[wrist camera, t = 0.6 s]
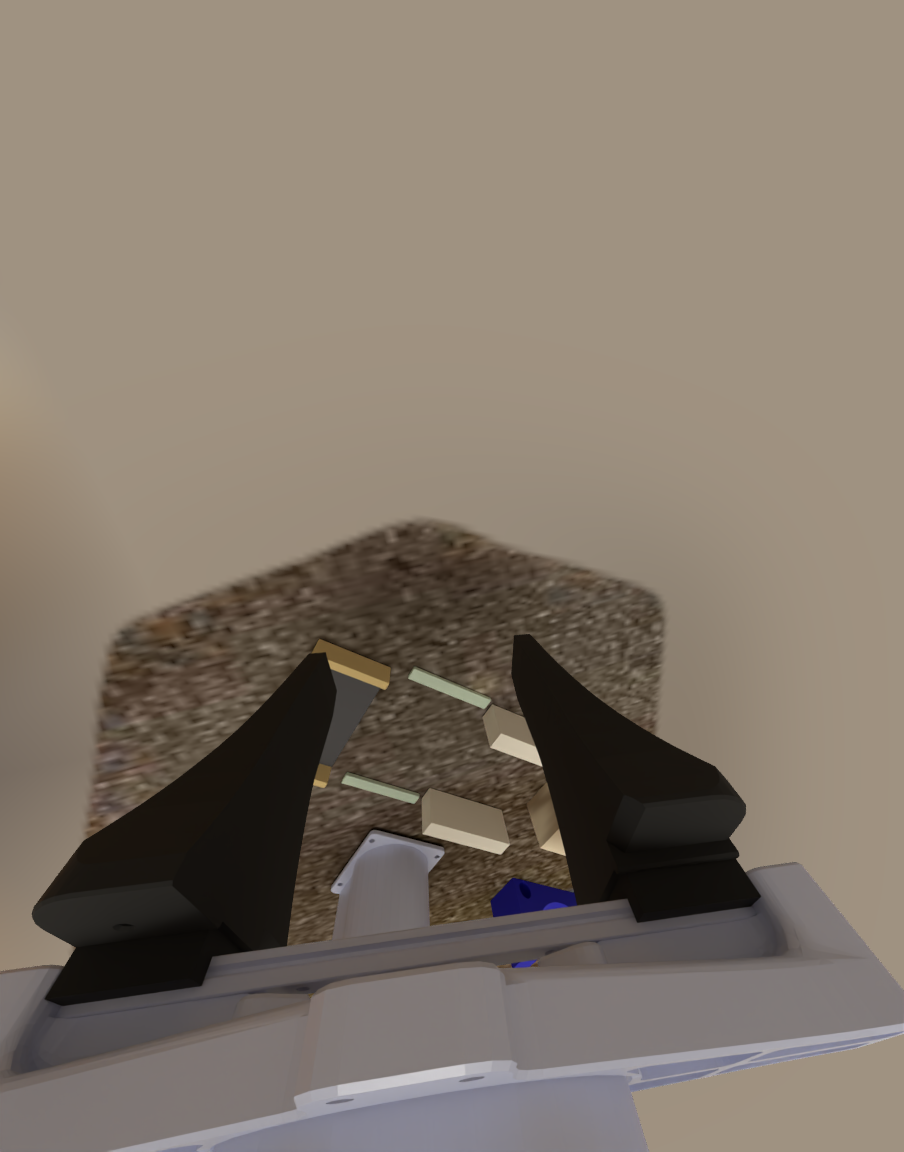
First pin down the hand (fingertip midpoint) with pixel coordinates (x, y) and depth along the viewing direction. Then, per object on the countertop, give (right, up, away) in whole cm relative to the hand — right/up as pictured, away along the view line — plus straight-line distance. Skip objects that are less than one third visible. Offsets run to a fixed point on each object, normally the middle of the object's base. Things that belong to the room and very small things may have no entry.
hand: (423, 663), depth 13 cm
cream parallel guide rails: (+5, -14, +17) cm, 22 cm away
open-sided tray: (-8, -7, +13) cm, 17 cm away
